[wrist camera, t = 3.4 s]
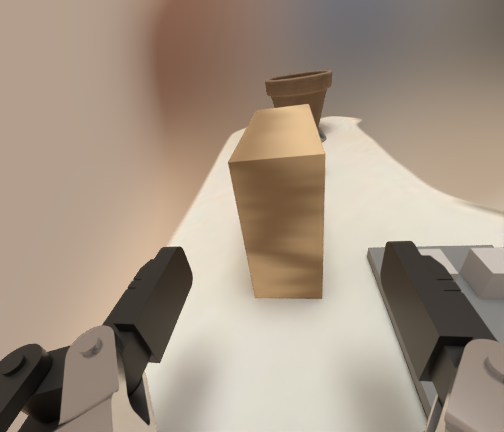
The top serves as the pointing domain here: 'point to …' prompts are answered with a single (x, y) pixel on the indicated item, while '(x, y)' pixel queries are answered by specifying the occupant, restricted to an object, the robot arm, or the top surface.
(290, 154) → the brown rectangular block
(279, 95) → the flower pot
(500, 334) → the peg stand
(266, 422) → the top surface
